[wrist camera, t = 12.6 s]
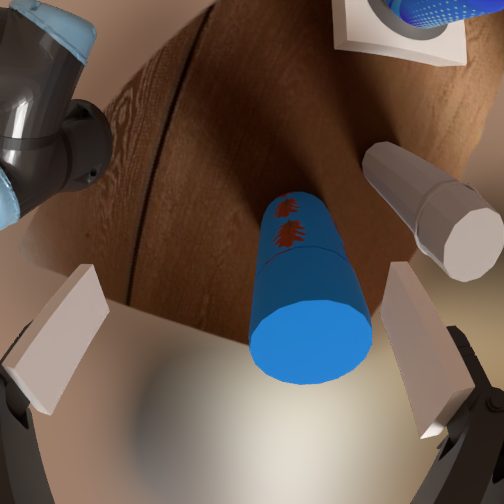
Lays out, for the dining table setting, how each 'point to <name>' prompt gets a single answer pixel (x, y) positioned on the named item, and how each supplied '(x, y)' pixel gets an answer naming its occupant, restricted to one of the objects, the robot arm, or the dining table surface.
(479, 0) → the beer can
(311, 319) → the thermos
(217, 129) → the dining table surface
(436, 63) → the white block with disc
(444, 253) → the water bottle
